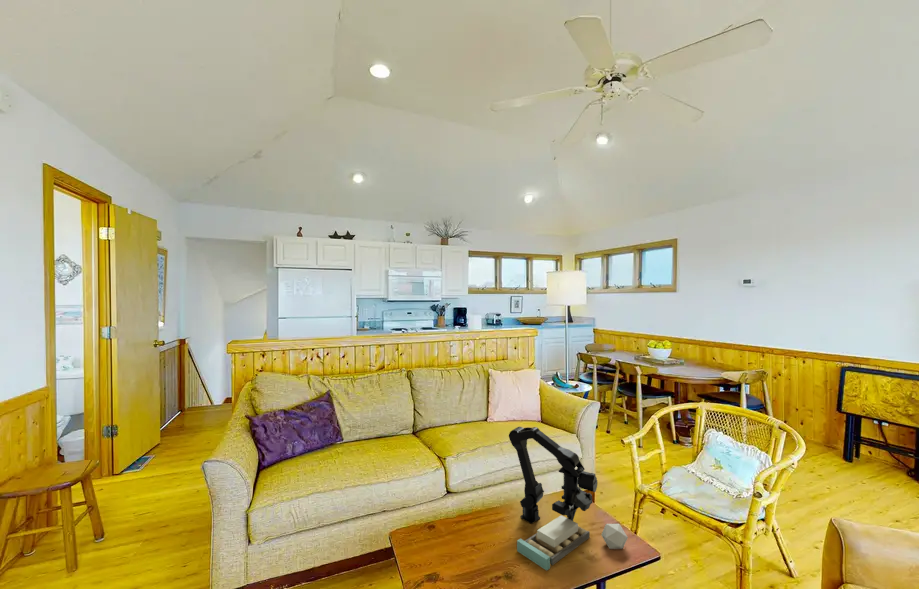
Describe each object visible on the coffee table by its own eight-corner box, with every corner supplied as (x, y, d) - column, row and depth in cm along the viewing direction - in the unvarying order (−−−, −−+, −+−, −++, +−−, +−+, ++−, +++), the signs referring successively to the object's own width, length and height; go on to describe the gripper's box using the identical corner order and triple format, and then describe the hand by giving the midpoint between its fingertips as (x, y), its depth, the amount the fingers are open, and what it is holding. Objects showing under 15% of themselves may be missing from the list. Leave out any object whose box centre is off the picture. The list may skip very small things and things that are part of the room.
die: (624, 559, 144) (634, 532, 147) (602, 544, 146) (612, 518, 149) (615, 553, 152) (625, 528, 155) (595, 539, 154) (604, 515, 157)
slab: (537, 537, 151) (537, 530, 151) (561, 522, 162) (561, 515, 162) (554, 547, 145) (554, 539, 145) (578, 531, 155) (577, 523, 155)
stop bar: (517, 551, 148) (517, 540, 148) (520, 548, 149) (520, 538, 149) (546, 570, 137) (546, 559, 137) (550, 568, 138) (550, 557, 138)
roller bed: (524, 547, 150) (524, 539, 150) (561, 522, 166) (561, 515, 166) (552, 565, 140) (552, 557, 140) (589, 537, 156) (589, 530, 156)
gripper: (575, 500, 147) (575, 540, 147) (600, 484, 159) (600, 521, 159) (551, 489, 156) (551, 527, 155) (576, 475, 168) (576, 510, 168)
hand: (570, 522), depth 159 cm, fingers closed
